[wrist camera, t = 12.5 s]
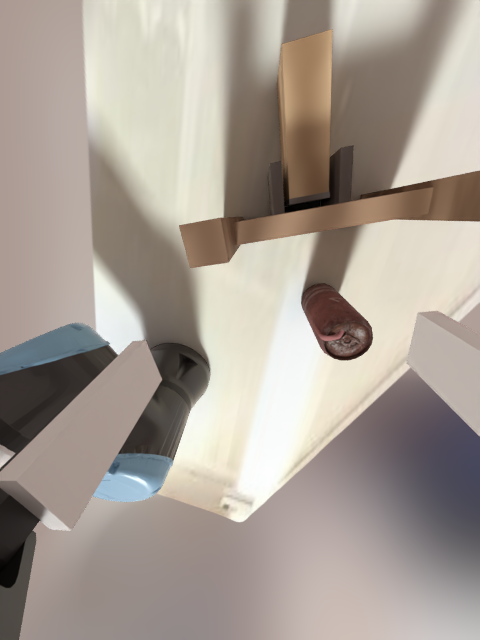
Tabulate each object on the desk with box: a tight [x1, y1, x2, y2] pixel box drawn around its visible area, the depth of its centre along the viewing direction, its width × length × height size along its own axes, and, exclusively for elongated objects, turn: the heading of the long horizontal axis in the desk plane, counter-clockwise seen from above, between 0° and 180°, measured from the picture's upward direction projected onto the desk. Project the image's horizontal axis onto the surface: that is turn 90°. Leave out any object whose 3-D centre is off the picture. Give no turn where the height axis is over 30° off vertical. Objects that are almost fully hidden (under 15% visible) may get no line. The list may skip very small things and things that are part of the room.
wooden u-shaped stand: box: [179, 145, 480, 268], centre depth 21 cm, size 23×8×20 cm, turn 99°
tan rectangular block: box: [277, 29, 332, 207], centre depth 25 cm, size 5×13×7 cm, turn 9°
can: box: [301, 284, 373, 360], centre depth 31 cm, size 6×6×14 cm
